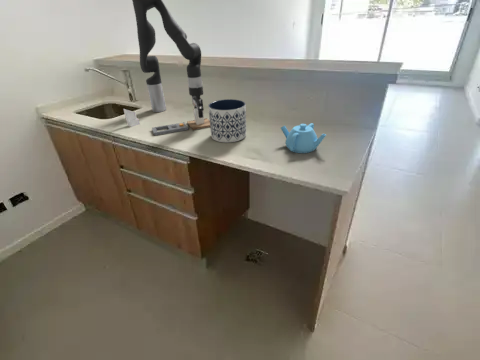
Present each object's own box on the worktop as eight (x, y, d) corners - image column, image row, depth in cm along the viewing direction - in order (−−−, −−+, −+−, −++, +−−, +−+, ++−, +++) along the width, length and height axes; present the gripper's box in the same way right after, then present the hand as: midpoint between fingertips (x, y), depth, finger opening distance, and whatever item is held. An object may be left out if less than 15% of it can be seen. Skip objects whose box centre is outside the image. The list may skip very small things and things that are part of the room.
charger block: (195, 122, 155) (193, 106, 150) (202, 121, 156) (200, 105, 152) (197, 124, 151) (195, 108, 147) (204, 123, 153) (202, 107, 148)
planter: (207, 133, 144) (204, 102, 135) (239, 127, 149) (237, 97, 140) (217, 145, 129) (214, 112, 121) (251, 139, 134) (251, 106, 126)
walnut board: (187, 123, 157) (187, 121, 157) (207, 120, 161) (206, 118, 160) (192, 130, 148) (192, 128, 147) (213, 126, 152) (213, 124, 151)
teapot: (309, 138, 133) (311, 116, 127) (324, 153, 119) (328, 129, 113) (279, 141, 131) (280, 119, 125) (291, 157, 117) (292, 133, 111)
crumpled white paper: (119, 123, 154) (123, 108, 152) (135, 127, 162) (138, 113, 161) (123, 124, 152) (126, 109, 151) (138, 128, 160) (142, 114, 159)
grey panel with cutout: (152, 130, 150) (151, 126, 149) (184, 124, 156) (184, 120, 154) (154, 135, 143) (153, 131, 142) (188, 129, 149) (187, 125, 147)
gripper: (185, 83, 148) (189, 112, 156) (191, 89, 136) (195, 120, 145) (198, 82, 150) (201, 110, 158) (206, 87, 139) (209, 118, 147)
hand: (198, 115), depth 152 cm, fingers open, 8 cm apart
